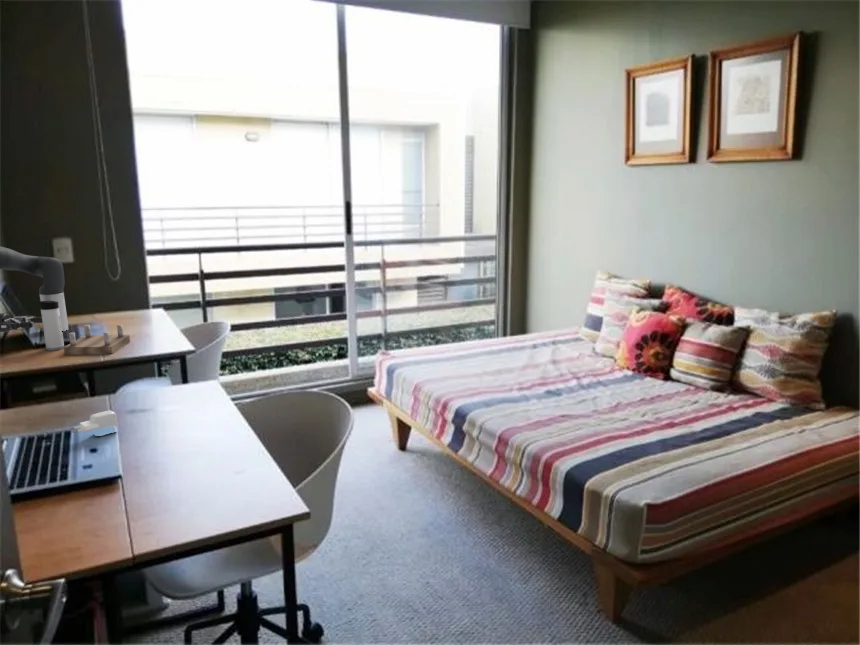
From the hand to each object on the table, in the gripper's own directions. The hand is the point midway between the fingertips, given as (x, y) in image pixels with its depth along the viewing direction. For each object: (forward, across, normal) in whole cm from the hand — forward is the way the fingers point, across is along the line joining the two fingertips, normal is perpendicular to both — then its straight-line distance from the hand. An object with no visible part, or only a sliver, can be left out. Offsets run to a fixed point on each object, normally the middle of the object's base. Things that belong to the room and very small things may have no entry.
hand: (38, 322), depth 248 cm
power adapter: (+60, -91, +11) cm, 110 cm away
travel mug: (+5, 0, +11) cm, 12 cm away
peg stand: (+22, 0, +11) cm, 25 cm away
